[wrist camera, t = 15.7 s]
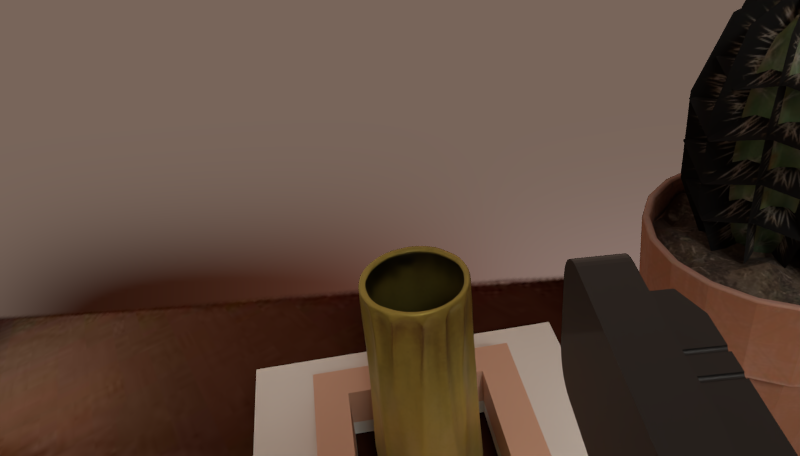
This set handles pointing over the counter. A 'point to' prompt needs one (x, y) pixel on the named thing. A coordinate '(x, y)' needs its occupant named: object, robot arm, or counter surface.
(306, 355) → the counter surface
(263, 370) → the socket stand
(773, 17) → the potted plant
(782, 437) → the robot arm
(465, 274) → the vase
